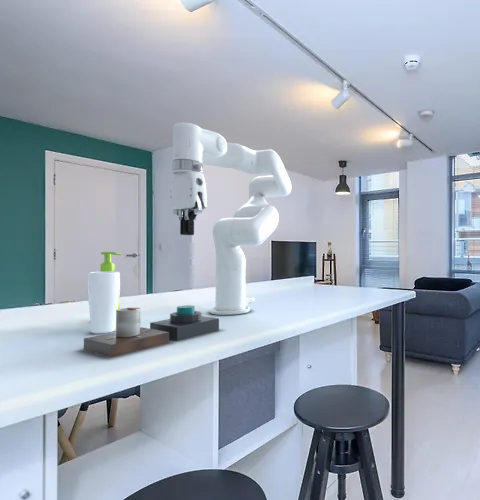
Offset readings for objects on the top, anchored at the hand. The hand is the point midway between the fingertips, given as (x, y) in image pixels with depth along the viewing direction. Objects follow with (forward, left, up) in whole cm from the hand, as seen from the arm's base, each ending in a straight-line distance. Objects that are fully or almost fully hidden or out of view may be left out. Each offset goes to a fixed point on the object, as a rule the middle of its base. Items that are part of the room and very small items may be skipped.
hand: (187, 234), depth 97 cm
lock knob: (+21, +9, -23) cm, 32 cm away
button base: (+7, +9, -25) cm, 28 cm away
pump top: (+7, +9, -20) cm, 23 cm away
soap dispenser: (+8, -23, -25) cm, 35 cm away
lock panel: (+21, +9, -25) cm, 34 cm away
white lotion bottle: (+16, -10, -25) cm, 32 cm away
